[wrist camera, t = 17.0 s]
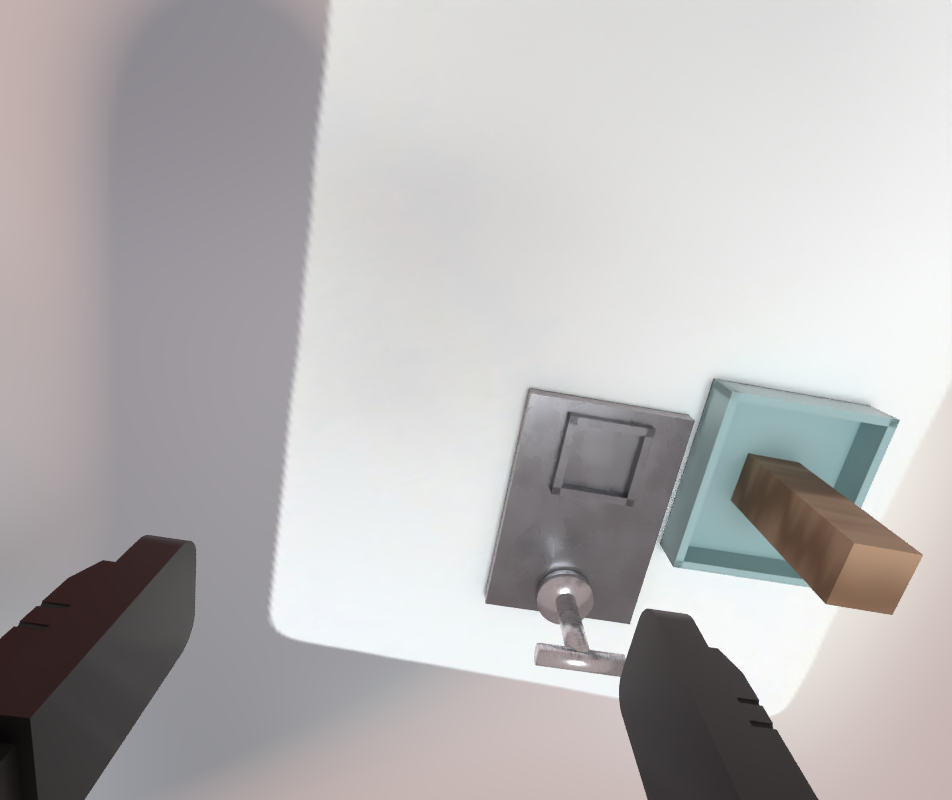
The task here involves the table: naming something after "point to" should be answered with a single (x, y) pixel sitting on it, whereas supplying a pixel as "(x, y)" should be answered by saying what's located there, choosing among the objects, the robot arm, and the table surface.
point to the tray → (773, 435)
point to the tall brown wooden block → (825, 535)
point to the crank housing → (584, 516)
